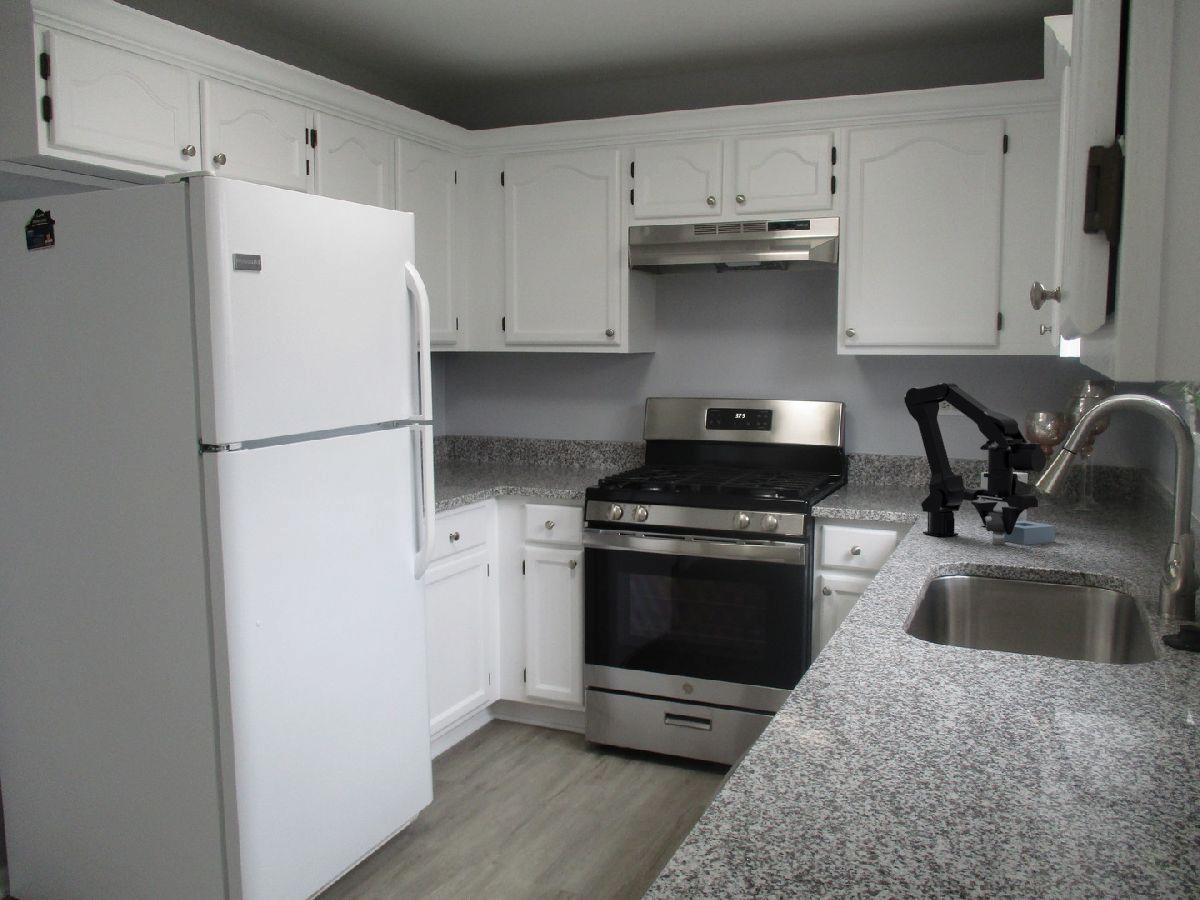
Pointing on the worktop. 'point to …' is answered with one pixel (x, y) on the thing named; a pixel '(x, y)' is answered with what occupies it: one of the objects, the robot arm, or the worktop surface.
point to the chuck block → (1031, 533)
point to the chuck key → (996, 526)
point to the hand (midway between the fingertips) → (999, 532)
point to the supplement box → (999, 505)
